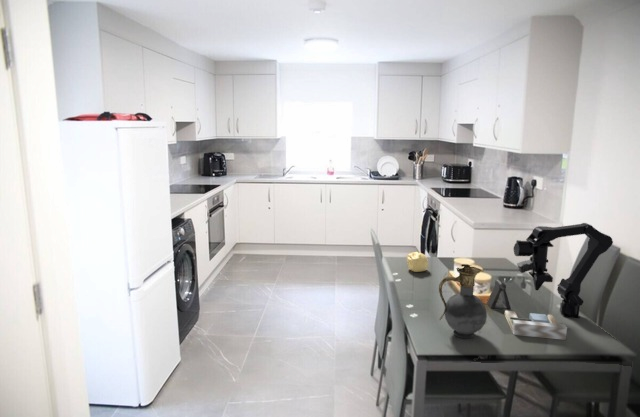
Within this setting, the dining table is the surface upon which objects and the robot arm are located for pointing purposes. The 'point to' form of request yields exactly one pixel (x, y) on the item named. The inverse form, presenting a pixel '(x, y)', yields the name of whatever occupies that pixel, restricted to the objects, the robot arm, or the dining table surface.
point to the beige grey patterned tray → (536, 327)
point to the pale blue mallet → (534, 318)
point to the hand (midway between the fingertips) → (536, 290)
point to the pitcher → (464, 304)
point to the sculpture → (417, 262)
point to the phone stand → (494, 296)
